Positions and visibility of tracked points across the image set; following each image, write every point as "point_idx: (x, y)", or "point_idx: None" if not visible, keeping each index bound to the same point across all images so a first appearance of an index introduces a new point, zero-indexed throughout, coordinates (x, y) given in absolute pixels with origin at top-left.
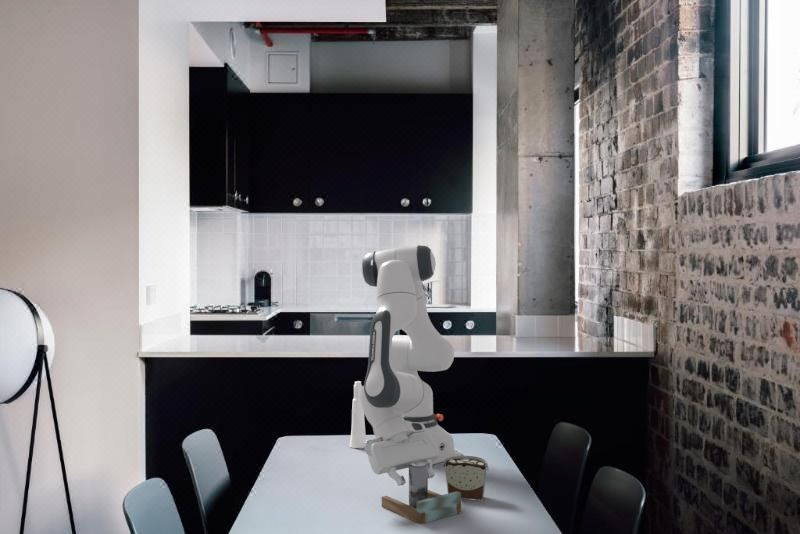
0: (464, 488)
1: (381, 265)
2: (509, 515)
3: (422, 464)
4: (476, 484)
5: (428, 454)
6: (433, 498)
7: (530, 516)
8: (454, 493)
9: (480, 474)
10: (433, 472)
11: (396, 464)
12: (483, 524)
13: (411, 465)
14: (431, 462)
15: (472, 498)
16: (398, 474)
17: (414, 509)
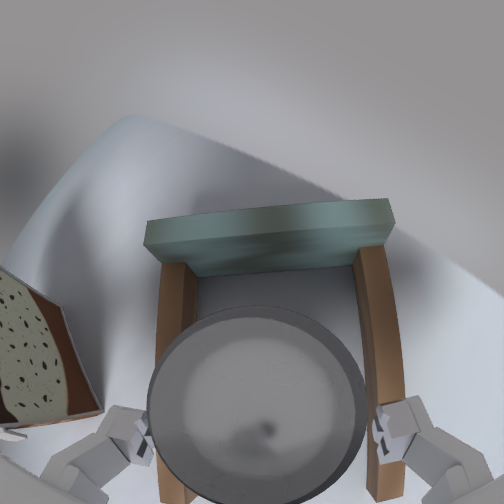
0: (55, 353)
1: None
2: (111, 180)
3: (247, 325)
4: (31, 308)
5: (24, 490)
6: (302, 216)
7: (94, 160)
8: (174, 226)
9: (2, 281)
10: (108, 413)
11: (456, 501)
12: (204, 157)
13: (350, 420)
14: (57, 458)
15: (68, 334)
16: (432, 442)
17: (378, 272)
